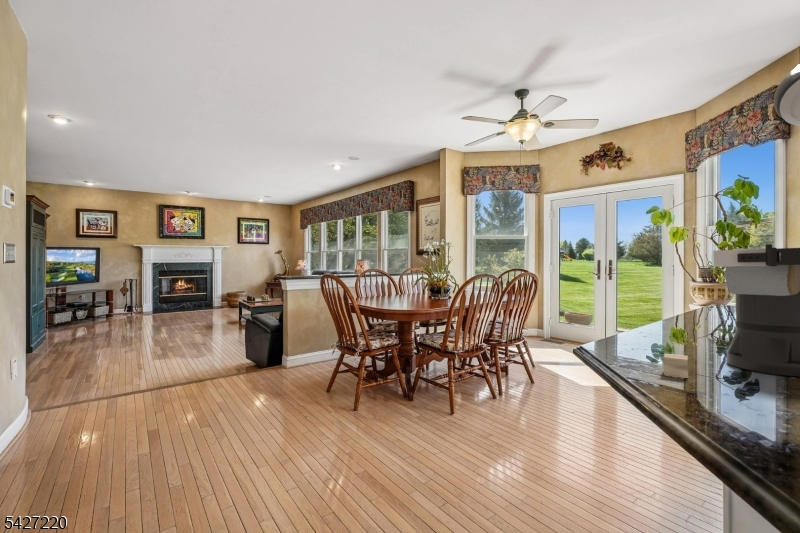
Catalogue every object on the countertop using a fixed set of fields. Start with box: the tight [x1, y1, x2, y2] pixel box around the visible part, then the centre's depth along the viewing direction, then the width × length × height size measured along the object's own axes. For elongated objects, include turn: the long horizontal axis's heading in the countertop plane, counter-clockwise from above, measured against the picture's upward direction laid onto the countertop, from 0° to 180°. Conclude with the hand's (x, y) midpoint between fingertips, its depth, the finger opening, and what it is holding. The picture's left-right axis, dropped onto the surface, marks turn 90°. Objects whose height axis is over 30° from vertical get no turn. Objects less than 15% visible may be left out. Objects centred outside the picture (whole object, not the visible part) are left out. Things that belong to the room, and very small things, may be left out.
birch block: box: [663, 353, 689, 379], centre depth 78 cm, size 4×4×4 cm
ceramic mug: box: [725, 248, 800, 296], centre depth 62 cm, size 11×8×8 cm
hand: (723, 258), depth 65 cm, fingers closed on ceramic mug, 7 cm apart
